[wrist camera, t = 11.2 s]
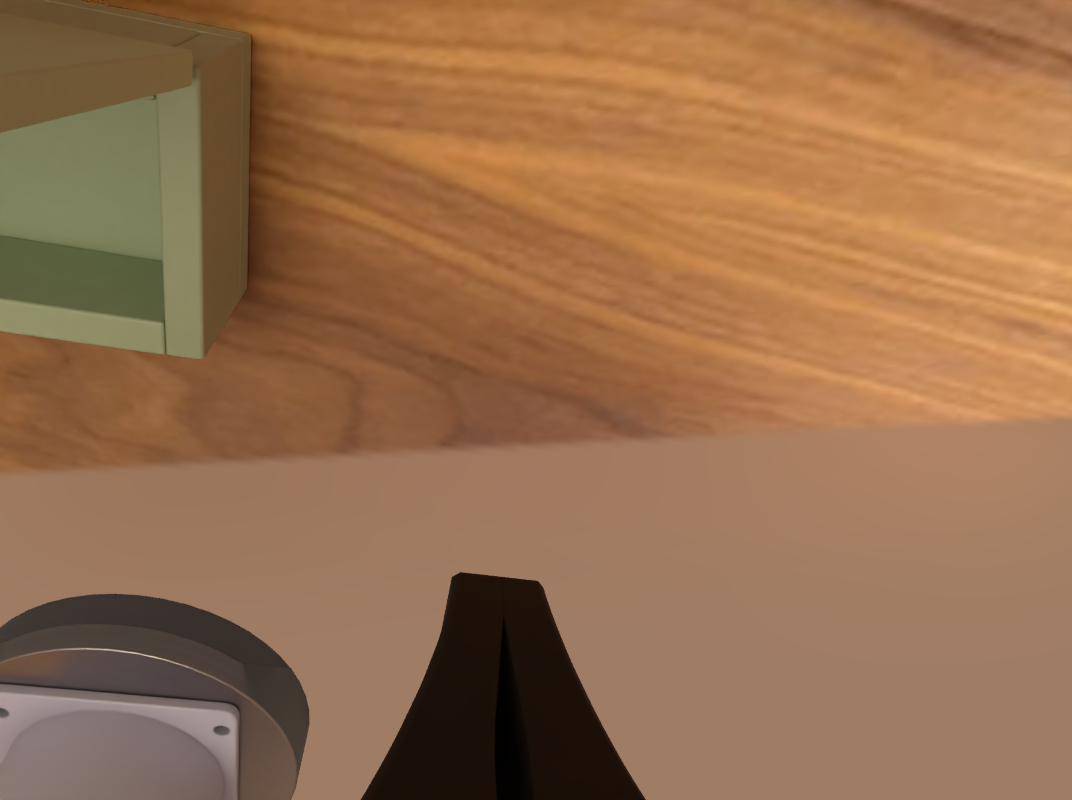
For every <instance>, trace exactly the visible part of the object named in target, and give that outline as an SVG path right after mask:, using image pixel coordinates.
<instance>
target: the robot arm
mask: <svg viewBox="0 0 1072 800" xmlns="http://www.w3.org/2000/svg"><path fill="white" fill-rule="evenodd" d="M239 722H240V713H239V710H238V709H237V708H236V707H235V706H234V705H232V704H229V703H223V702H211V701H200V700H188V699H176V698H165V697H153V696H141V695H130V694H118V693H106V692H94V691H83V690H71V689H59V688H48V687H36V686H24V685H13V684H0V800H238V785H239ZM361 800H646V799H645V798H644V796H643V795H642V793H641V792H640V790H639V788H638V787H637V785H636V784H635V782H634V780H633V779H632V777H631V775H630V774H629V772H628V771H627V769H626V767H625V766H624V764H623V762H622V760H621V758H620V757H619V755H618V753H617V751H616V750H615V748H614V746H613V744H612V742H611V741H610V739H609V737H608V735H607V733H606V731H605V730H604V728H603V726H602V724H601V722H600V720H599V718H598V716H597V714H596V712H595V711H594V709H593V707H592V705H591V702H590V700H589V698H588V696H587V694H586V692H585V690H584V688H583V686H582V684H581V682H580V679H579V677H578V675H577V673H576V671H575V669H574V667H573V664H572V662H571V660H570V658H569V655H568V653H567V651H566V648H565V646H564V643H563V641H562V638H561V636H560V634H559V631H558V629H557V626H556V623H555V621H554V618H553V615H552V613H551V610H550V607H549V604H548V601H547V598H546V595H545V592H544V589H543V587H542V585H541V584H540V583H539V582H538V581H533V580H524V579H515V578H506V577H497V576H488V575H480V574H471V573H462V572H460V573H459V574H457V575H455V576H453V577H452V580H451V585H450V590H449V595H448V600H447V605H446V610H445V615H444V620H443V626H442V630H441V634H440V637H439V640H438V643H437V646H436V648H435V651H434V654H433V656H432V659H431V661H430V664H429V666H428V669H427V671H426V674H425V677H424V679H423V681H422V684H421V686H420V688H419V690H418V693H417V695H416V697H415V699H414V701H413V703H412V705H411V708H410V709H409V712H408V714H407V716H406V718H405V720H404V722H403V724H402V726H401V728H400V731H399V732H398V734H397V736H396V738H395V740H394V742H393V744H392V746H391V748H390V750H389V751H388V753H387V755H386V757H385V759H384V761H383V762H382V764H381V766H380V768H379V770H378V771H377V773H376V775H375V777H374V778H373V780H372V782H371V784H370V785H369V787H368V789H367V790H366V792H365V794H364V795H363V797H362V799H361Z"/></svg>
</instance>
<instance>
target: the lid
mask: <svg viewBox="0 0 1072 800" xmlns="http://www.w3.org/2000/svg"><path fill="white" fill-rule="evenodd" d="M192 69H193V53H192V51H191V50H188V49H183V48H178V47H173V46H168V45H163V44H157V43H152V42H147V41H142V40H137V39H132V38H127V37H121V36H116V35H111V34H106V33H101V32H96V31H91V30H85V29H80V28H75V27H70V26H65V25H60V24H55V23H50V22H44V21H39V20H34V19H29V18H24V17H19V16H14V15H8V14H3V13H0V133H3V132H7V131H11V130H15V129H19V128H23V127H27V126H31V125H35V124H39V123H43V122H47V121H51V120H55V119H59V118H63V117H68V116H72V115H76V114H80V113H84V112H88V111H92V110H96V109H100V108H104V107H108V106H112V105H116V104H120V103H124V102H128V101H133V100H137V99H141V98H145V97H149V96H153V95H157V94H161V93H165V92H169V91H173V90H177V89H181V88H185V87H189V86H192Z"/></svg>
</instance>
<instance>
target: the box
mask: <svg viewBox="0 0 1072 800" xmlns="http://www.w3.org/2000/svg"><path fill="white" fill-rule="evenodd" d="M0 13H3V14H8V15H14V16H19V17H24V18H29V19H34V20H39V21H44V22H50V23H55V24H60V25H65V26H70V27H75V28H80V29H85V30H91V31H96V32H101V33H106V34H111V35H116V36H121V37H127V38H132V39H137V40H142V41H147V42H152V43H157V44H163V45H168V46H173V47H178V48H183V49H188V50H191V51H192V53H193V69H192V86H189V87H185V88H181V89H177V90H173V91H169V92H165V93H161V94H157V95H153V96H149V97H145V98H141V99H137V100H133V101H128V102H124V103H120V104H116V105H112V106H108V107H104V108H100V109H96V110H92V111H88V112H84V113H80V114H76V115H72V116H68V117H63V118H59V119H55V120H51V121H47V122H43V123H39V124H35V125H31V126H27V127H23V128H19V129H15V130H11V131H7V132H3V133H0V331H1V332H8V333H15V334H22V335H29V336H36V337H43V338H50V339H57V340H64V341H71V342H78V343H85V344H92V345H99V346H106V347H113V348H120V349H127V350H134V351H141V352H148V353H155V354H165V353H167V354H168V355H170V356H177V357H184V358H191V359H198V360H202V359H204V357H205V356H206V354H207V353H208V351H209V349H210V348H211V346H212V344H213V343H214V341H215V340H216V338H217V336H218V335H219V333H220V331H221V330H222V328H223V327H224V325H225V323H226V322H227V320H228V318H229V317H230V315H231V314H232V312H233V310H234V309H235V307H236V305H237V304H238V302H239V300H240V299H241V297H242V295H243V294H244V292H245V291H246V289H247V275H248V214H249V153H250V93H251V36H250V35H249V34H247V33H243V32H238V31H233V30H228V29H223V28H218V27H213V26H208V25H203V24H198V23H193V22H188V21H183V20H177V19H172V18H167V17H162V16H157V15H152V14H147V13H142V12H137V11H132V10H127V9H122V8H117V7H112V6H107V5H102V4H97V3H92V2H87V1H82V0H0Z"/></svg>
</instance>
